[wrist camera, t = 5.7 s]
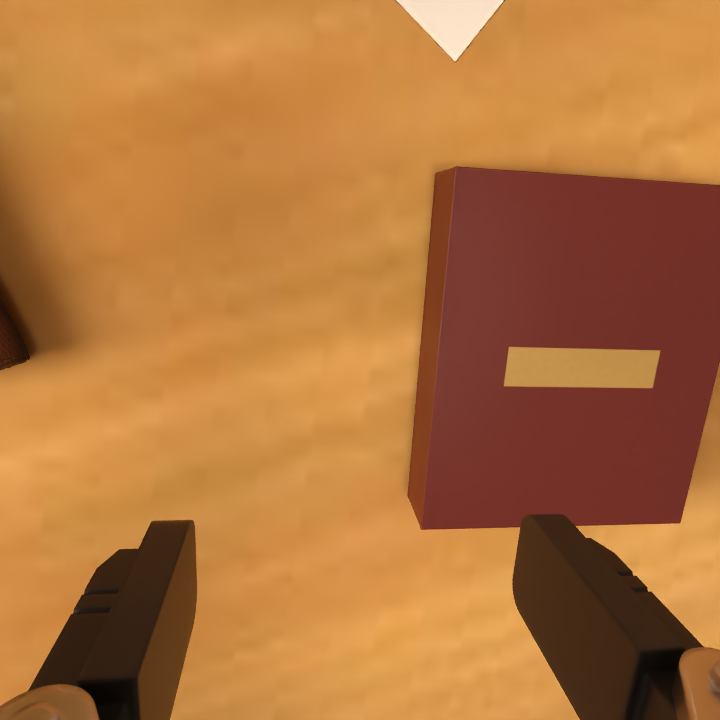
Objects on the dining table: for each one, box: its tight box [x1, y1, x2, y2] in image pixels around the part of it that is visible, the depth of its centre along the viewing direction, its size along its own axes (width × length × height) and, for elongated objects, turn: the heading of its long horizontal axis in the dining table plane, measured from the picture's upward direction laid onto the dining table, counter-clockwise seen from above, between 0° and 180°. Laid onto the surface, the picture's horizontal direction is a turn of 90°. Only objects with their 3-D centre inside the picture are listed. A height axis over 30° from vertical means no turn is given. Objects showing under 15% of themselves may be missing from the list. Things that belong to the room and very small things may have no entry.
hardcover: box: [408, 167, 720, 530], centre depth 27 cm, size 15×18×3 cm
